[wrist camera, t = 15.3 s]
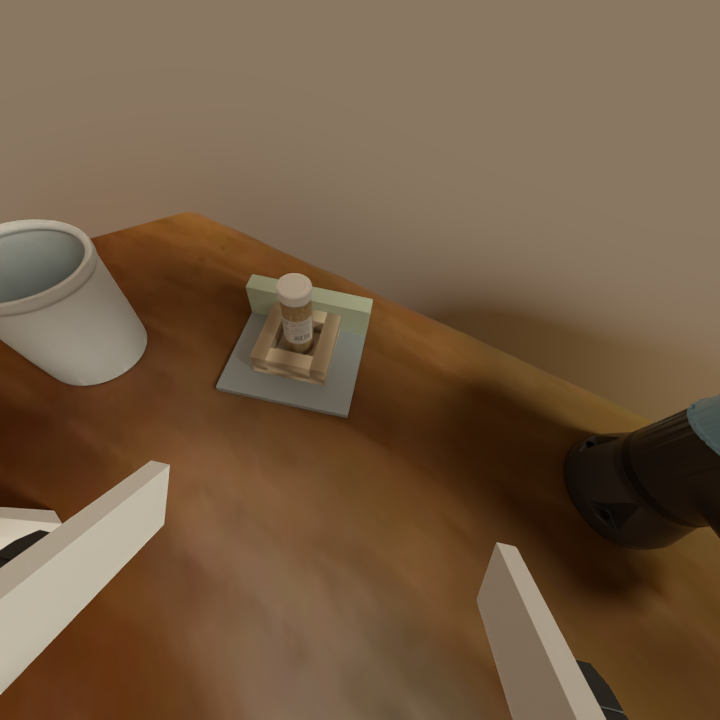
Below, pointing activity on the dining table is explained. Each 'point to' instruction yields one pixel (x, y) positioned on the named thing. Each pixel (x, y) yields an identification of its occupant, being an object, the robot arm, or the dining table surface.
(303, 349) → the sprinkles bottle
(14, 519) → the pepper shaker
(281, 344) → the socket block
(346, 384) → the backstop board
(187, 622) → the dining table surface
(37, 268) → the utensil holder
